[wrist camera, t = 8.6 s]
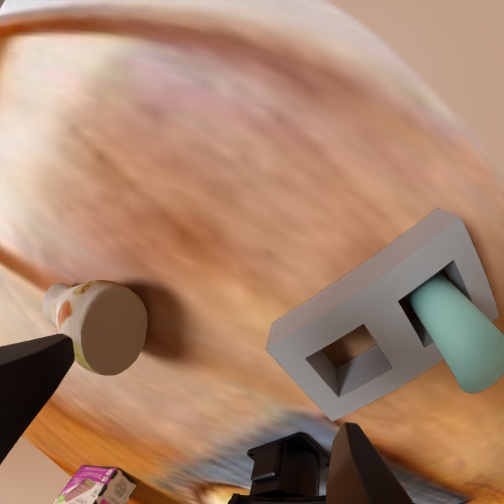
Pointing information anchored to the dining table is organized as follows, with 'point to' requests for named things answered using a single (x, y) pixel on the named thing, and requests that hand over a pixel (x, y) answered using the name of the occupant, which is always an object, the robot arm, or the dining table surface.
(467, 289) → the block
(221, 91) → the dining table surface
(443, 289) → the peg
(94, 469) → the candy bar box
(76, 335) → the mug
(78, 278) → the dining table surface
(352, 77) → the dining table surface
